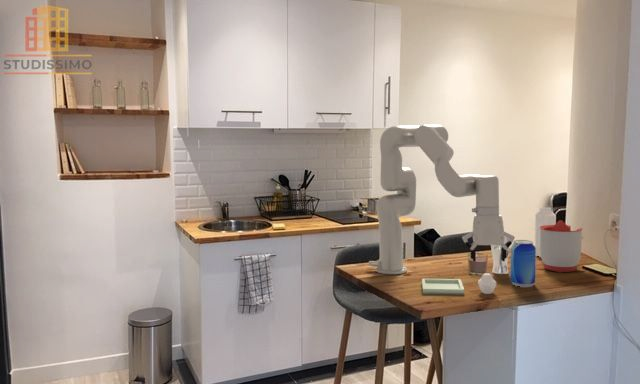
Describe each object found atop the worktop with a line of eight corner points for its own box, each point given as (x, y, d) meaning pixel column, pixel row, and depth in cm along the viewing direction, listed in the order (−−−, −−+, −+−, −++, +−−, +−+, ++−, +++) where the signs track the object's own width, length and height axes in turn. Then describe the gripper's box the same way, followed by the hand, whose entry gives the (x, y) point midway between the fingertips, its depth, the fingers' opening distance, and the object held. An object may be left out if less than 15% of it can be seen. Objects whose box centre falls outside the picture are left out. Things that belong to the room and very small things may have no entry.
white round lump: (496, 295, 183) (496, 275, 182) (478, 294, 184) (477, 274, 184) (495, 290, 189) (495, 271, 188) (477, 289, 190) (477, 270, 190)
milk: (555, 257, 237) (556, 208, 235) (543, 258, 235) (544, 208, 233) (546, 254, 243) (546, 206, 240) (534, 255, 241) (535, 207, 239)
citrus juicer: (594, 271, 211) (595, 221, 209) (557, 275, 206) (558, 224, 204) (565, 263, 226) (566, 216, 224) (530, 266, 221) (531, 218, 219)
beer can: (529, 281, 199) (529, 239, 198) (539, 287, 191) (539, 243, 189) (506, 282, 199) (507, 239, 197) (515, 288, 191) (516, 244, 189)
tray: (422, 293, 187) (422, 288, 187) (422, 283, 201) (422, 278, 201) (464, 294, 185) (464, 289, 185) (460, 283, 199) (460, 279, 198)
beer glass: (510, 274, 209) (510, 237, 208) (492, 274, 211) (492, 236, 209) (508, 270, 216) (508, 233, 215) (490, 270, 217) (490, 233, 216)
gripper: (462, 213, 181) (463, 263, 183) (516, 212, 178) (516, 262, 180) (460, 210, 189) (461, 258, 190) (511, 209, 186) (512, 258, 187)
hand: (488, 260), depth 185 cm, fingers open, 9 cm apart
